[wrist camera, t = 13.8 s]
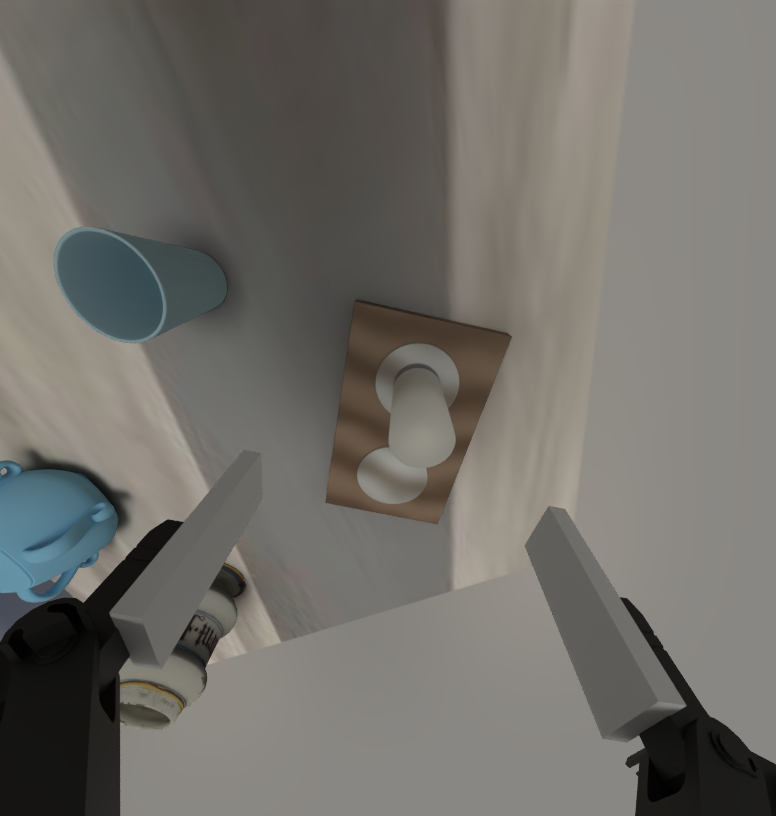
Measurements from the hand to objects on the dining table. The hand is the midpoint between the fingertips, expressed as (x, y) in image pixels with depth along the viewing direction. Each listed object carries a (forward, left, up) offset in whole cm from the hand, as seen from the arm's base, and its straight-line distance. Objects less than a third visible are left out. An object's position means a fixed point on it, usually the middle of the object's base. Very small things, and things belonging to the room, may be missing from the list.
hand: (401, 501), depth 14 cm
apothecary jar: (+46, -23, -22) cm, 56 cm away
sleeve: (+2, +2, -20) cm, 20 cm away
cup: (-4, -22, -22) cm, 31 cm away
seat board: (+8, +2, -22) cm, 23 cm away
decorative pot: (+32, -44, -22) cm, 59 cm away
